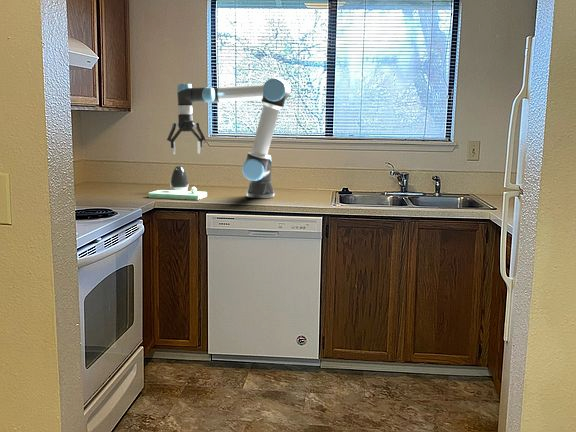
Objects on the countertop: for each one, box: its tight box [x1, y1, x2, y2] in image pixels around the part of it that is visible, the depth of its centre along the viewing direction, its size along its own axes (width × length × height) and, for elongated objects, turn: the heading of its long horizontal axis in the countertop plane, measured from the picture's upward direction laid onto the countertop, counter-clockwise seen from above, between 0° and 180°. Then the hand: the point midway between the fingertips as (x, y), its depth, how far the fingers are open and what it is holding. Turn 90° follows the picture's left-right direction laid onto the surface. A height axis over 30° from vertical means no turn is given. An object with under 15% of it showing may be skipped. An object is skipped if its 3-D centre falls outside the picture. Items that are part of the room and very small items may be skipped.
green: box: [147, 189, 208, 201], centre depth 320 cm, size 28×14×2 cm, turn 78°
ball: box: [189, 186, 198, 193], centre depth 318 cm, size 3×3×3 cm
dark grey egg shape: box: [169, 165, 190, 191], centre depth 336 cm, size 10×10×15 cm
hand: (186, 154), depth 316 cm, fingers open, 13 cm apart
